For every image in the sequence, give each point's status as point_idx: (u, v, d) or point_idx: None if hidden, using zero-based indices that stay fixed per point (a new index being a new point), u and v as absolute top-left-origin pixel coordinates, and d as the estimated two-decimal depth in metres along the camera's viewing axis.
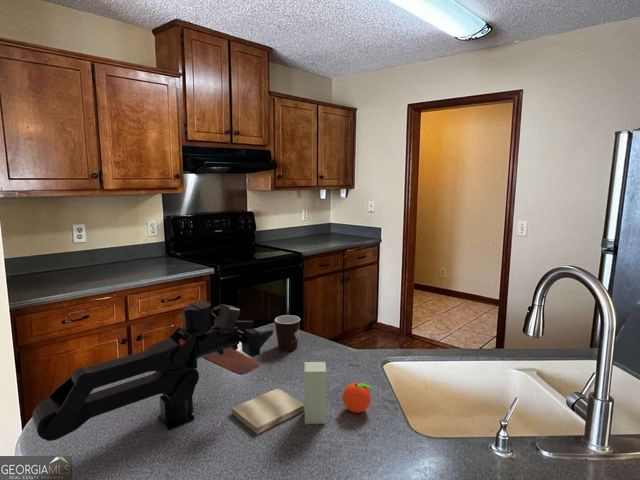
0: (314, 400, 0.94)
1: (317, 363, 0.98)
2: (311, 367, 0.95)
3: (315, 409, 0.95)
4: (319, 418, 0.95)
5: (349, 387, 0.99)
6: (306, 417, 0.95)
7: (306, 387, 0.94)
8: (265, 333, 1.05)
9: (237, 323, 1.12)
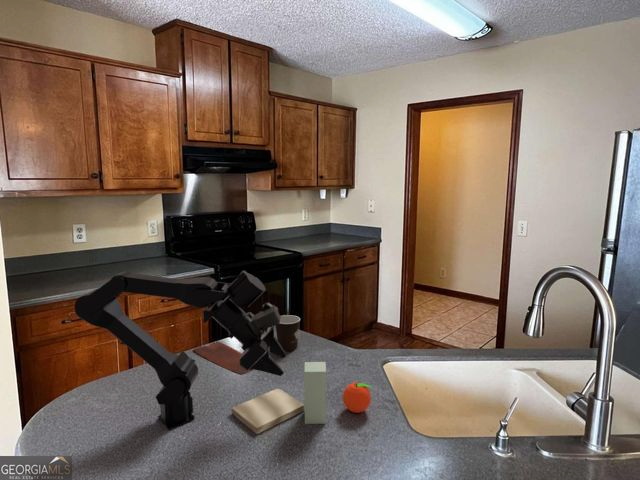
0: (314, 400, 0.94)
1: (317, 363, 0.98)
2: (311, 367, 0.95)
3: (315, 409, 0.95)
4: (319, 418, 0.95)
5: (349, 387, 0.99)
6: (306, 417, 0.95)
7: (306, 387, 0.94)
8: (274, 365, 0.90)
9: (273, 340, 1.00)
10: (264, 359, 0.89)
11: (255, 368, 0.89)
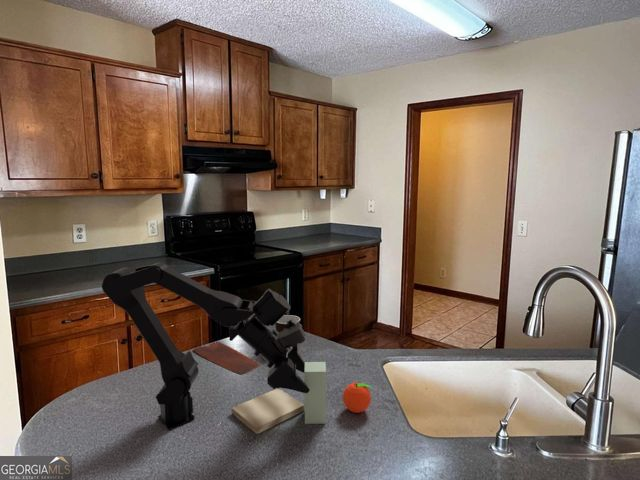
0: (314, 400, 0.94)
1: (317, 363, 0.98)
2: (311, 367, 0.95)
3: (315, 409, 0.95)
4: (319, 418, 0.95)
5: (349, 387, 0.99)
6: (306, 417, 0.95)
7: None
8: (300, 383, 0.90)
9: (297, 356, 1.01)
10: (291, 377, 0.90)
11: (282, 386, 0.89)
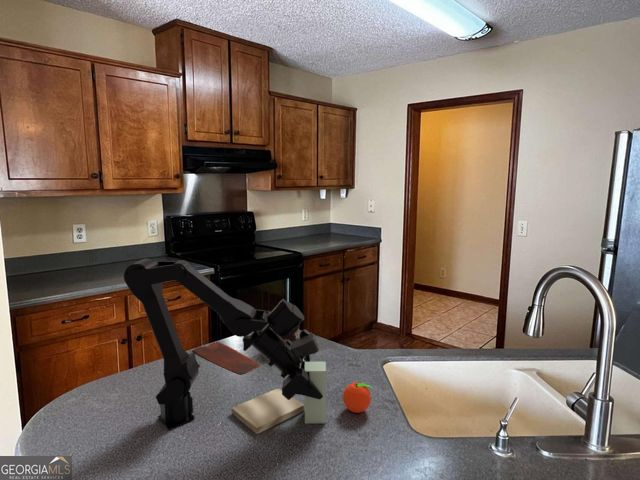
0: (314, 400, 0.95)
1: (317, 363, 0.98)
2: (311, 367, 0.96)
3: (315, 409, 0.95)
4: (319, 418, 0.95)
5: (349, 387, 0.99)
6: (306, 417, 0.95)
7: None
8: (314, 389, 0.93)
9: None
10: None
11: (296, 392, 0.92)
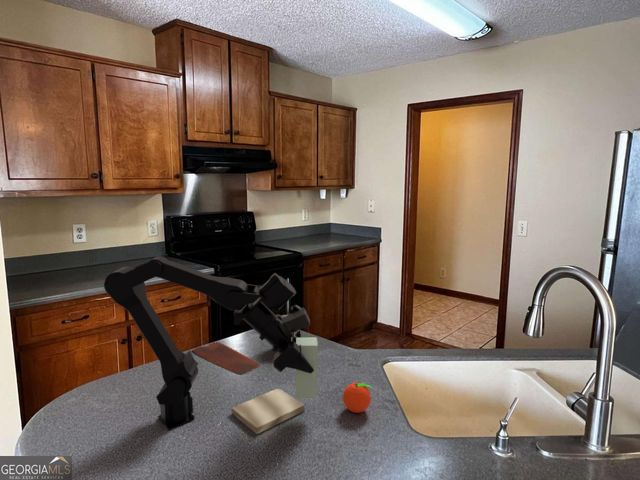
0: (305, 375, 0.95)
1: (308, 338, 0.98)
2: (303, 342, 0.96)
3: (306, 384, 0.95)
4: (309, 392, 0.95)
5: (349, 387, 0.99)
6: (297, 392, 0.95)
7: None
8: (305, 363, 0.93)
9: None
10: (296, 357, 0.93)
11: (287, 366, 0.92)
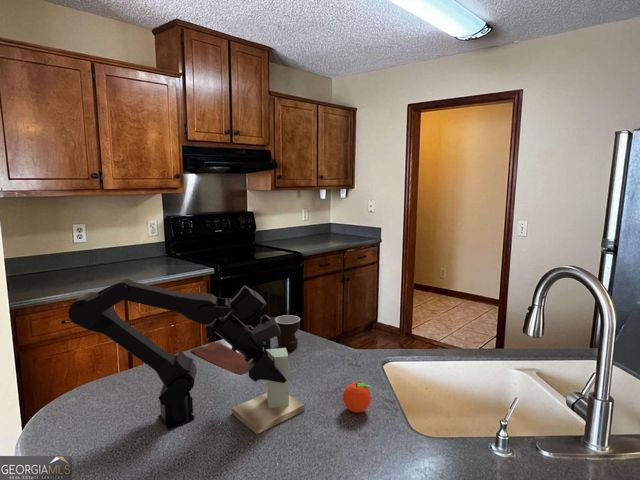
0: (277, 385, 0.99)
1: (278, 349, 1.02)
2: (273, 353, 0.99)
3: (278, 393, 0.99)
4: (282, 401, 0.99)
5: (349, 387, 0.99)
6: (270, 402, 0.99)
7: None
8: (278, 373, 0.95)
9: None
10: (269, 369, 0.94)
11: (261, 378, 0.93)
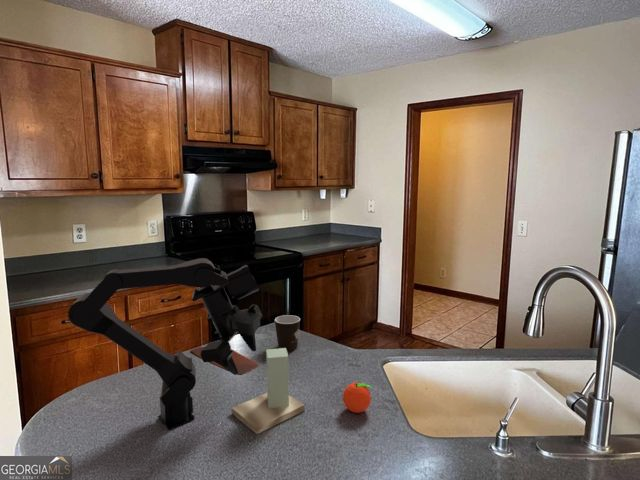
0: (277, 385, 0.99)
1: (278, 349, 1.02)
2: (273, 353, 0.99)
3: (278, 393, 0.99)
4: (282, 401, 0.99)
5: (349, 387, 0.99)
6: (270, 402, 0.99)
7: (269, 373, 0.98)
8: (230, 366, 0.94)
9: None
10: None
11: (214, 360, 0.94)
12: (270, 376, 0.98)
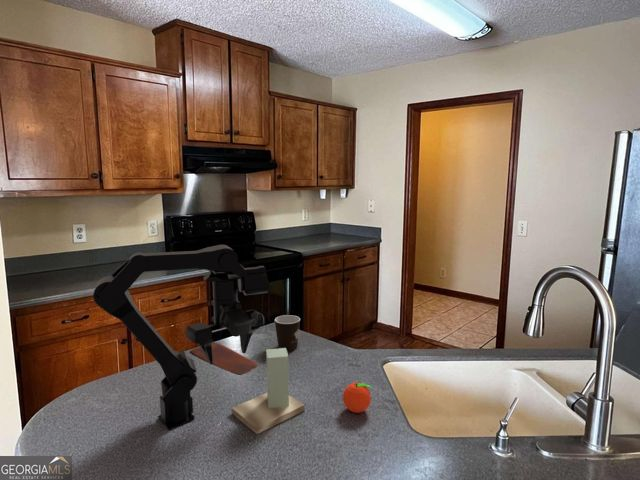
0: (277, 385, 0.99)
1: (278, 349, 1.02)
2: (273, 353, 0.99)
3: (278, 393, 0.99)
4: (282, 401, 0.99)
5: (349, 387, 0.99)
6: (270, 402, 0.99)
7: (269, 373, 0.98)
8: (207, 353, 0.96)
9: (246, 335, 1.02)
10: None
11: None
12: (270, 376, 0.98)
